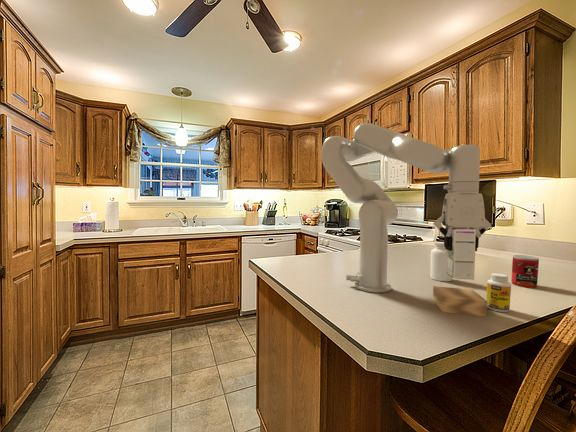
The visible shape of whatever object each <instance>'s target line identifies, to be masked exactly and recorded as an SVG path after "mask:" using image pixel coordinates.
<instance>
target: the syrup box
mask: <svg viewBox="0 0 576 432" xmlns="http://www.w3.org/2000/svg"><path fill="white" fill-rule="evenodd" d="M451 237H452V238H453V243H452V250H451V251H449V250H447V274H448V275H449V276H451V277H452V279H457V280H469V281H470V280H471V281H473V280H475V270H476V269H475V268H476V267H475V266H476V251H475V237H476V230H475V229H469V228H454V230H453V232H452V234H451Z"/></svg>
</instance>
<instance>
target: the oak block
mask: <svg viewBox="0 0 576 432" xmlns="http://www.w3.org/2000/svg"><path fill="white" fill-rule="evenodd" d="M432 287H433V288H432V300H433V302H434V303H435V304H436V306H437V307H438V308H439V309H440V311H441V312H442V313H450V314H461V315H469V316H470V315H471V316H479V317H487V316H488V315H487V314H488V308H487V301H486V298H484V297H482V296H481V295H480V294H479V293H478V292H476V291H475V290H474V289H472V288H460V287H446V286H435V285H433V286H432Z"/></svg>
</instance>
